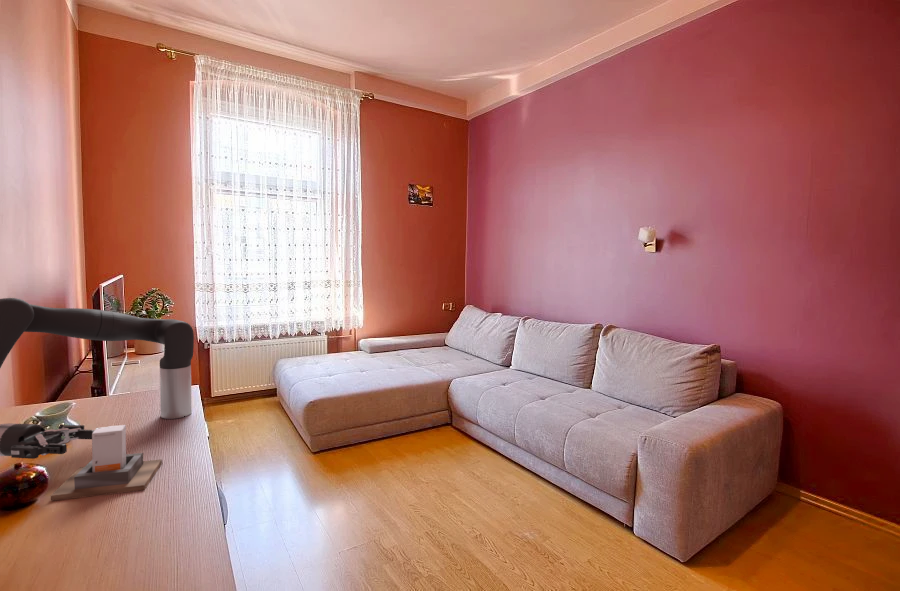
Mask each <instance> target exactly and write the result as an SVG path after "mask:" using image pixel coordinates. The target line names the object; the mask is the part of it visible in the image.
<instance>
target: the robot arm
mask: <svg viewBox="0 0 900 591" xmlns="http://www.w3.org/2000/svg"><path fill="white" fill-rule="evenodd" d="M24 333H43V334H52V335H58V336H61V337H62V336H64V337H69V338H75V339H83V340H90V341H101V342H123V341H144V342H146V341H147V342H151V343H157V344H160V345H163V348H164V349H163V350H164V352H163V356H162V358H160V359H159V396H160V397H159V398H160V399H159V400H160V401H159V403H160V407H159V408H160V410H159V411H160V418H162V419H167V420H172V419H173V420H174V419H180V418H185V417H187V416H190V415H191V414H192V359H193V358H194V357H193V356H194V346H195V344H194V343H195V342H194V340H195V335H194V334H195V333H194V329H193V327H192V326H191V324H190V323H188V322H186V321H183V320H179V319H176V318H175V319H173V318H165V319H163V318H147V317H146V318H144V317H138V316H135V315H131V314H127V313H122V312H117V311H111V310H103V309H96V308H95V309H92V308H80V307H79V308H78V307H77V308H76V307H75V308H74V307H73V308H70V307H49V306H42V305H37V304H31V303H29V302H27V301H26V300H24V299H21V298H16V297H5V298H4V297H3V298H0V369H2V366H3V364H4V363H5V360H6V359H7V357H8V356H9V355H10V352H11V350H12V349H13V348H14V346H15V345H16V343H17V341H18V340H19V339H20V338H21V336H22V335H23V334H24ZM184 416H185V417H184ZM94 430H95V429H85V425H83V424H80V425H79V424H78V425H77V424H76V425H75V424H70V425H68V424H66V425H64V424H61V425H59V426H58V428H57V429H53V428H52V429H46V428H44V427H43V426H42V425H41V424H38V423H37V424H36V423H0V457H11V458H13V459H27V460H28V459H30V460H31V459H33V460H35V459H38V458H39V456H47V455H64V454H66V453H67V452H68V448H67V446H68V445H67V444H68V443H69V442H70V441H73V440H92V433H93V432H94ZM62 437H64V439H63V438H62Z"/></svg>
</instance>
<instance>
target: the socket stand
mask: <svg viewBox="0 0 900 591" xmlns="http://www.w3.org/2000/svg"><path fill="white" fill-rule="evenodd" d="M162 465H163V459H162V458H161V459H153V460H144V452H137V453H128V454H127V453H126V466H125V468H124V469H121V470H111V471H101V472H93V471H92V459H91V460H90V461H89V462H88V463H87V464H85V466H80V467H79V468H78V469H77V470H76V471H75V472H74V473H73V474H72V475H71V476H69V477H68V478H67V479H66V480H65V481H64V482H63V483H61V485H60V486H59V487H58V488H57V489H55V491H53V492H52V494H51V495H50V501H51V502H52V501H60V500H61V501H62V500H69V499H79V498H86V497H94V496H95V497H96V496H104V495H112V494H121V493H129V492H130V493H131V492H137V491H145V490H146V488H147V487H148V485H149V483H151V481H152V479H153V478H154V476H155V475H156V473H157V472H158V470H159V469H160V467H161V466H162Z"/></svg>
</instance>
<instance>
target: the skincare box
mask: <svg viewBox="0 0 900 591" xmlns="http://www.w3.org/2000/svg"><path fill="white" fill-rule="evenodd" d="M126 429H127V425H126V424H120V425H109V426H101V427H96V428H95V429H93V430H94V432H93V433H92V439H91V454H92V455H91V458H92V459H91V460H92V471H93V472H101V471H111V470H121V469H124V468H125V466H126V454H127V430H126Z"/></svg>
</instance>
